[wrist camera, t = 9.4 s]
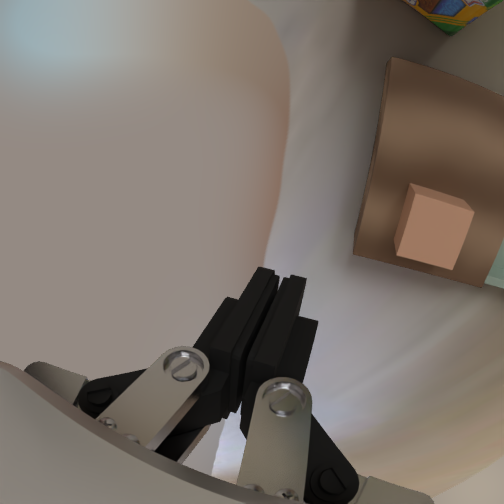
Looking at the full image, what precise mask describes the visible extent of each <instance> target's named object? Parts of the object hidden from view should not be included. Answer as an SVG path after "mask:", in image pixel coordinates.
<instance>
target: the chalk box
mask: <svg viewBox="0 0 504 504" xmlns="http://www.w3.org/2000/svg"><path fill="white" fill-rule="evenodd" d="M402 1H404V2H405V3H407V4H408V5H410V6H411V7H412V8H414V9H415V10H417V11H418V12H419V13H421V14H422V15H423V16H425V17H426V18H427V19H429V20H430V21H431V22H433V23H434V24H435V25H436V26H438V27H439V28H440V29H441V30H442V31H444V32H445V33H446V34H447V35H449V36H453V35H454V34H456V33H457V32H458V31H459V30H461V29H462V28H464V27H465V26H466V25H468V24H469V23H471V22H472V21H474V20H475V19H476V18H478V17H479V16H480V15H482V14H483V13H485V12H486V11H488V10H489V9H491V8H492V7H494V6H495V5H497V4H499V3H500V2H502V1H503V0H402Z"/></svg>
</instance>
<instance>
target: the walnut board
mask: <svg viewBox="0 0 504 504" xmlns="http://www.w3.org/2000/svg"><path fill="white" fill-rule="evenodd" d="M410 183H412V184H415V185H419V186H422V187H425V188H429V189H432V190H435V191H438V192H442V193H445V194H448V195H451V196H454V197H457V198H460V199H463V200H465V202H466V203H467V204H468V205H469V206H470V207H471V209H472V210H473V211H474V215H473V218H472V221H471V224H470V227H469V229H468V232H467V235H466V238H465V240H464V243H463V245H462V248H461V250H460V253H459V255H458V258H457V260H456V263H455V265H454V267H453V270H450V269H446V268H443V267H439V266H435V265H431V264H428V263H424V262H420V261H417V260H413V259H409V258H405V257H401V256H398V255H396V249H395V244H394V237H395V234H396V230H397V227H398V224H399V220H400V217H401V213H402V210H403V206H404V203H405V199H406V195H407V192H408V188H409V184H410ZM503 239H504V96H502V95H499V94H497V93H495V92H493V91H491V90H488V89H486V88H484V87H482V86H479V85H477V84H474V83H472V82H469V81H467V80H464V79H462V78H459V77H457V76H454V75H451V74H448V73H445V72H443V71H440V70H437V69H434V68H431V67H427V66H424V65H421V64H418V63H414V62H411V61H407V60H404V59H400V58H396V57H391V58H390V60H389V61H388V62H387V65H386V73H385V81H384V88H383V95H382V102H381V108H380V115H379V121H378V126H377V132H376V138H375V143H374V148H373V154H372V159H371V164H370V169H369V173H368V178H367V183H366V187H365V192H364V196H363V200H362V205H361V209H360V213H359V217H358V221H357V225H356V229H355V233H354V247H353V254H354V255H358V256H362V257H366V258H370V259H374V260H378V261H382V262H386V263H390V264H393V265H397V266H401V267H405V268H409V269H413V270H417V271H421V272H424V273H428V274H432V275H436V276H440V277H443V278H447V279H451V280H455V281H458V282H462V283H466V284H469V285H473V286H477V287H480V288H482V286H483V284H484V282H485V280H486V278H487V276H488V274H489V271H490V269H491V267H492V265H493V263H494V260H495V258H496V256H497V253H498V251H499V249H500V246H501V244H502V241H503Z"/></svg>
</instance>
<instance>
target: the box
mask: <svg viewBox="0 0 504 504" xmlns="http://www.w3.org/2000/svg"><path fill="white" fill-rule="evenodd" d="M484 283H486V284H489V285H493V286H496V287H500V288H503V289H504V239H503V241H502V244H501V246H500V249H499V251H498V253H497V256H496V258H495V260H494V263H493V265H492V267H491V269H490V271H489V274H488V276H487V278H486V280H485V282H484Z"/></svg>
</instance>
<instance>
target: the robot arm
mask: <svg viewBox="0 0 504 504" xmlns="http://www.w3.org/2000/svg"><path fill="white" fill-rule="evenodd" d="M279 278H280V276H278V275H275V271H274V270H271V269H267V268H263V267H258V268H257V270H256V272H255V273H254V275H253V277H252V279H251V280H250V282H249V283H248V285H247V287H246V288H245V290H244V291H243V293H242V295H241V296H240V298H239V300H237V299H234V298H230V297H227V298H225V300H224V301H223V303H222V304H221V306H220V307H219V308H218V310H217V312H216V313H215V315H214V316H213V317H212V319H211V321H210V322H209V323H208V325H207V327H206V328H205V329H204V331H203V332H202V334H201V335H200V337H199V338H198V340H197V341H196V343H195V344H194V346H193V347H186V346H181V347H175V348H172V349H169V350H168V351H166V352H165V353H163V354H162V355H161V356H160V357H159V358H158V359H157V360H156V361H155V362H154V363H153V364H152V365H151V366H150V367H149V368H147V369H143V370H139V371H134V372H129V373H124V374H119V375H114V376H109V377H104V378H99V379H95V380H92V381H90V380H88V379H87V377H86V376H83V375H79V374H76V373H73V372H70V371H67V370H64V369H62V368H59V367H56V366H53V365H50V364H48V363H45V362H40V361H39V362H34V363H32V364H30V365H28V366H27V367H26V369H25V370H24V371H22V370H21V369H19V368H17V367H15V366H13V365H11V364H8V363H5V362H2V361H0V504H434V501H433V500H432V499H431V497H430V496H428V495H426V494H424V493H422V492H418V491H415V490H411V489H408V488H405V487H401V486H398V485H395V484H392V483H389V482H386V481H383V480H380V479H377V478H374V477H372V476H369V477H368V478H367V477H364V476H361V475H359V474H357V473H356V471H355V469H354V468H353V467H352V465H351V464H350V463H349V462H348V460H347V459H346V458H345V456H344V455H343V454H342V453H341V451H340V450H339V449H338V448H337V446H336V445H335V444H334V442H333V441H332V440H331V438H330V437H329V436H328V435H327V433H326V432H325V431H324V429H323V428H322V427H321V425H320V424H319V423H318V421H317V420H316V419H315V417H314V416H313V415H312V413H311V412H312V397H311V394H310V392H309V390H308V388H307V387H306V386H304V385H303V384H302V383H303V380H304V376H305V372H306V369H307V365H308V361H309V358H310V354H311V350H312V346H313V342H314V338H315V334H316V330H317V326H318V321H316V320H312V319H308V318H304V317H301V316H299V311H300V307H301V303H302V298H303V294H304V290H305V285H306V280H307V278H303V277H299V276H295V275H291V276H290V278H286V277H284V278H283V280H282V283H281V285H280V287H279V289H278V285H279ZM241 402H242V404H241ZM240 404H241V413H240V415H241V422H240V429H241V431H242V433H243V435H244V436H245V438H246V440H247V441H246V445H245V450H244V454H243V459H242V463H241V467H240V472H239V476H238V480H237V484H236V485H235V484H232V483H229V482H226V481H223V480H220V479H217V478H215V477H212V476H209V475H207V474H204V473H201V472H199V471H196V470H194V469H191V468H189V467H187V466H184V465H182V463H183V462H184V461H185V459H186V458H187V457H188V456H189V454H190V453H191V452H192V450H193V449H194V448H195V446H196V445H197V444H198V443H199V441H200V440H201V439H202V438H203V436H204V435H205V434H206V432H207V431H208V430H209V427H210V426H211V424H214V423H217V422H220V421H221V419H222V418H224V419H227V418H228V416H229V414H230V412H234V413H236V412H237V410H238V408H239V406H240Z"/></svg>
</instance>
